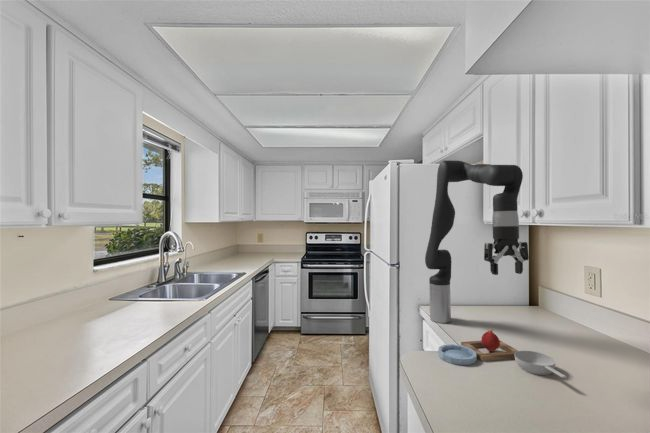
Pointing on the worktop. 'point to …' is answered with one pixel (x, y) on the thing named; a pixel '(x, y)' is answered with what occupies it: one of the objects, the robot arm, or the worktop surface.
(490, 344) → the onion
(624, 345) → the worktop surface
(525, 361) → the saucepan
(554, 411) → the worktop surface
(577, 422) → the worktop surface
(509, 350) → the frame
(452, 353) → the dish
